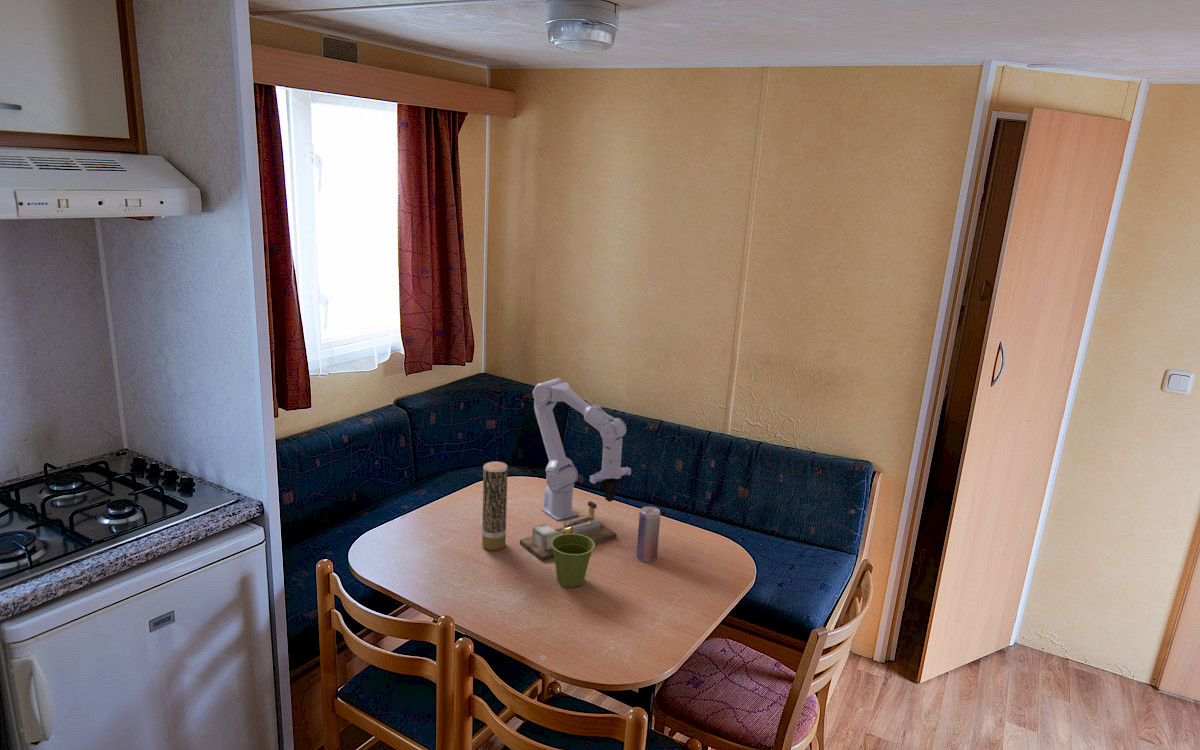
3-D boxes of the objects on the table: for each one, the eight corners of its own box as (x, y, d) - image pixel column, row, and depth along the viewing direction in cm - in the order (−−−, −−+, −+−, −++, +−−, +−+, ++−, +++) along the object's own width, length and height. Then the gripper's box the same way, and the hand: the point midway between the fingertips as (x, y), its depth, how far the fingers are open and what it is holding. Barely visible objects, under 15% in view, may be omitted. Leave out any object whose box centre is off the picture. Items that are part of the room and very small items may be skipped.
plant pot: (554, 595, 195) (555, 556, 192) (545, 572, 206) (546, 534, 203) (597, 590, 198) (600, 552, 195) (586, 568, 209) (588, 531, 206)
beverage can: (632, 559, 215) (636, 511, 211) (641, 551, 220) (645, 504, 216) (651, 565, 212) (655, 516, 209) (660, 556, 218) (664, 509, 214)
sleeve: (563, 533, 225) (563, 521, 224) (589, 526, 231) (590, 514, 230) (572, 540, 221) (573, 528, 220) (599, 532, 227) (600, 520, 226)
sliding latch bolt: (561, 534, 223) (562, 508, 221) (590, 526, 229) (592, 500, 227) (566, 538, 221) (567, 512, 219) (596, 529, 227) (597, 504, 225)
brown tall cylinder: (507, 541, 221) (509, 462, 215) (502, 552, 215) (504, 471, 208) (485, 539, 222) (486, 460, 215) (479, 550, 215) (480, 469, 209)
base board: (519, 544, 220) (519, 539, 220) (593, 523, 236) (593, 518, 236) (541, 561, 211) (542, 556, 211) (616, 538, 227) (616, 534, 227)
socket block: (532, 541, 219) (532, 527, 218) (545, 537, 222) (545, 523, 221) (544, 550, 214) (544, 536, 213) (557, 546, 217) (557, 532, 216)
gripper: (600, 467, 219) (598, 510, 222) (638, 458, 227) (635, 499, 231) (586, 459, 224) (584, 501, 228) (623, 451, 233) (621, 491, 236)
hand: (609, 500), depth 230 cm, fingers closed
